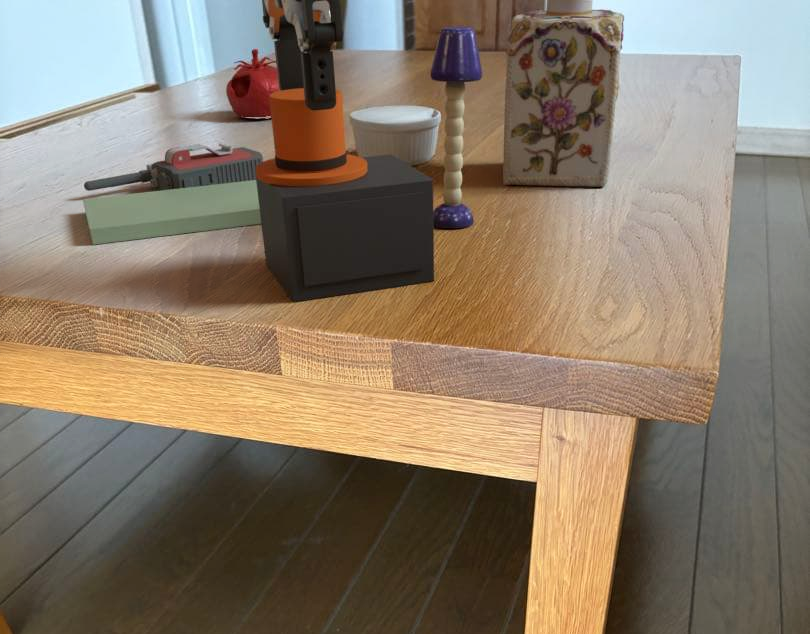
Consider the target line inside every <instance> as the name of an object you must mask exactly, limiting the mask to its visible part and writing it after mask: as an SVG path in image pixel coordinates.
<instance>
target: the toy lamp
mask: <svg viewBox="0 0 810 634" xmlns="http://www.w3.org/2000/svg"><path fill="white" fill-rule="evenodd" d="M482 78H483V69H482V64H481V57H480V52H479V47H478V42H477V35H476V32H475V30H474V28H473V27H469V26H447V27H446V26H445V27H442V28H441V29H440V32H439V35H438V38H437V43H436V47H435V52H434V56H433V60H432V65H431V69H430V79H431V80H433V81H434V82H443V83H445V88H444V91H445V93H444V94H445V97H446V101H445V104H444V112H445V115H446V118H445V121H444V132H445V137H444V140H443V141H444V142H443V149H444V152H445V154H444V158H443V166H444V170H445V171H444V174H443V184H444V190H443V194H442V195H443V198H442V199H443V202H444V203H441V204H439V205H437V206H436V207H435V208H434V209H433V223H434V227H436V228H441V229H463V228H468V227H470V226H472V225H473V224H474V223H475V222H474V216H473V213H472V211H471V209H470V208H469V207H468V206H466V205H465V204H463V203H462V197H463V194H462V193H463V192H462V189H461V186H462V184H463V174H462V171H461V170H462V168H463V165H464V158H463V154H462V151H463V149H464V137H463V135H462V134H463V132H464V128H465V124H464V119H463V115H464V113H465V101H464V96H465V93H466V83H470V82H477V81H478V82H479V81H480V80H481V79H482Z"/></svg>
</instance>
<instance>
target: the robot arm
mask: <svg viewBox="0 0 810 634" xmlns="http://www.w3.org/2000/svg"><path fill="white" fill-rule="evenodd" d="M261 4H262V14H263V16H262V22H263V24H264V26H265V29H268V33H269V34H268V35H270V37H271V40H272V41H273V40H274V41H273V45H274V55H275V61H276V63H275V65H276V68H277V74H278V84H279V89H280V90H281V91H282V90H288V89H298V88H304V96H305V104H306V106H307V107H308V108H309V109H311V110H313V111H315V110H325V109H332V108H334V107H335V105H336V90H337V88H336V78H335V77H336V76H335V61H334V50H336V49H337V43H342V42H343V39H344V28H343V20H342V19H343V18H342V6H341V5H342V4H341V0H261ZM315 22H318V23H315ZM332 50H333V51H332Z"/></svg>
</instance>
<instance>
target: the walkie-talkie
mask: <svg viewBox="0 0 810 634" xmlns="http://www.w3.org/2000/svg"><path fill="white" fill-rule="evenodd" d="M218 147H221V148H218V149H213V148H211V147H209V146H207V145H204V144H201V143H196V144H190V145H184V146H178V147H172V148H169V149H168V150H167V151H166V152H165V154H164V159H163V160H160V161H159V160H158V161H155V162H153V163H148V164H146V169H142V170H139V171H138V172H132V173H125V174H121V175H115V176H109V177H105V178H98V179H93V180H88V181H85V182H84V184H83V188H84V190H86V191H88V192H90V191H91V192H92V191H97V190H103V189H108V188H115V187H121V186H125V185H132V184H137V183H142V184H144V183H149V184H150V186H151V188H156V189H157V190H158V191H161V190H170V189H179V188H188V187H197V186H206V185H215V184H224V183H233V182H242V181H251V180H256V175H255V168H256V166H257V165H258V164H260V163H262V162H264V156H263V154H262V152H260V151H257V150H254V149H251V148H247V147H245V146H241V147H234V148H233V146H232V145H229V144H226V143H223V142H220V143H218ZM202 150H206V151H207V152H206V153H205V152H204V153H199V154H194V155H191V152H195V151H202Z"/></svg>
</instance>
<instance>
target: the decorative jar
mask: <svg viewBox="0 0 810 634" xmlns="http://www.w3.org/2000/svg"><path fill="white" fill-rule="evenodd" d="M593 1H594V0H546V10H544V9H540V10H534V11H527V12H525V13H520V14H517V15H515V16H513V18H512V19H511V25H510V28H509V32H510V33H509V35H508V38H507V45H506V49H505V54H506V66H505V67H506V69H505V70H506V71H505V89H504V90H505V91H504V117H503V118H504V120H503V121H504V122H503V123H504V124H503V163H502V164H503V165H502V166H503V167H502V168H503V169H502V173H503V174H502V175H503V176H502V180H503V181H502V182H503V185H505V186H545V187H546V186H547V187H551V186H552V187H553V186H554V187H556V186H557V187H593V188H594V187H598V188H601V187H605V186H606V185H607V183H608V179H609V172H610V163H611V156H612V146H613V135H614V126H615V125H614V124H615V115H616V114H615V113H616V103H617V100H618V97H619V88H620V82H619V80H620V76H619V75H620V71H619V68H620V59H621V51H622V50H623V44H622V43H623V41H624V31H625V30H624V28H625V27H624V21H625V15H623V14H622V13H621V12H616V11H612V10H611V9H593Z"/></svg>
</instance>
